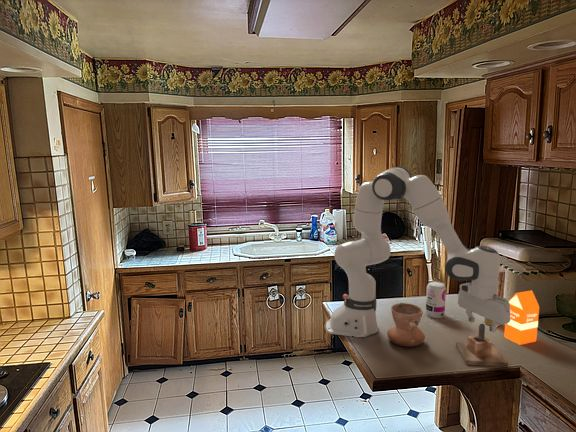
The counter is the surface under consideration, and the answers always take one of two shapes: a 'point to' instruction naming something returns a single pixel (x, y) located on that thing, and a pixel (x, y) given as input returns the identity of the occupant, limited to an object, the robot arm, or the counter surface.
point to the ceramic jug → (406, 325)
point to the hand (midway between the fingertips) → (481, 326)
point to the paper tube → (500, 291)
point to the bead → (479, 346)
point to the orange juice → (522, 318)
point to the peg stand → (489, 360)
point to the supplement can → (435, 299)
